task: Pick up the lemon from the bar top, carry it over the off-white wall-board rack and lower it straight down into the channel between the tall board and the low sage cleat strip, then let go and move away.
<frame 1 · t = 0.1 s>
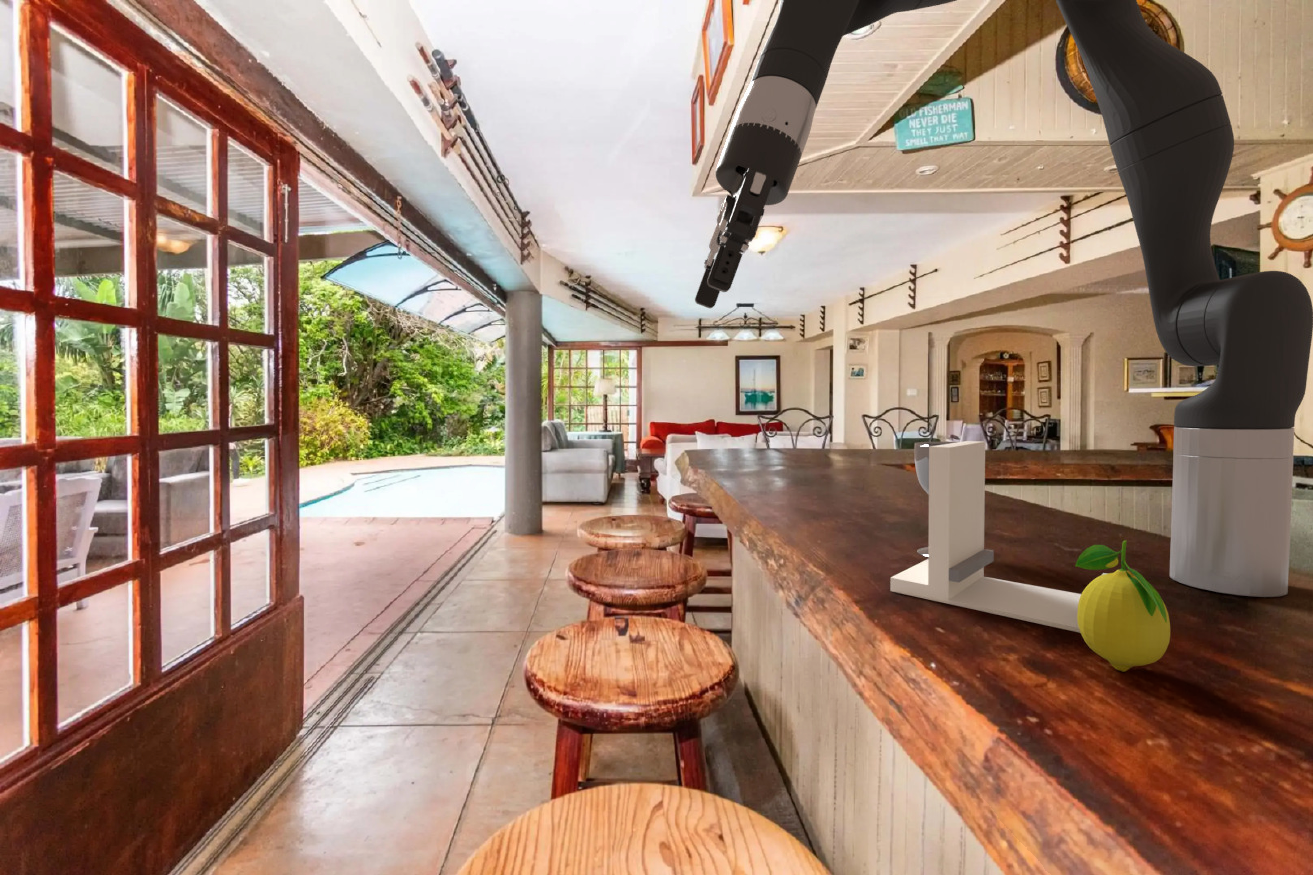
hand: (709, 297, 58), 31 cm above the countertop, tool tilted 20°, fingers open, 8 cm apart
lemon: (1117, 671, 44), on the countertop
cleat rack: (1025, 602, 59), on the countertop
wine glass: (945, 554, 79), on the countertop
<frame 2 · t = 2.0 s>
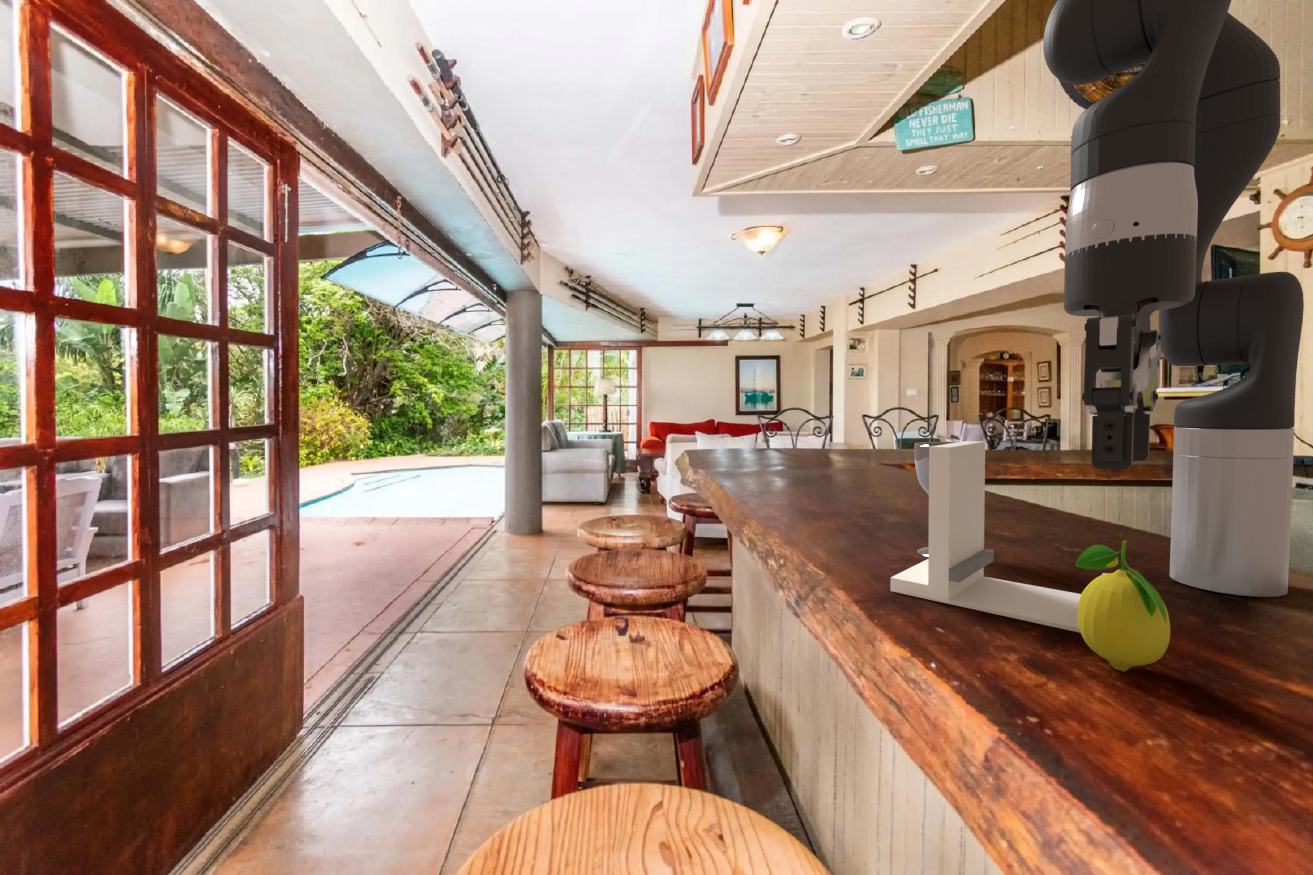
hand: (1121, 464, 43), 16 cm above the countertop, tool pointing down, fingers open, 8 cm apart
nothing on the countertop moved.
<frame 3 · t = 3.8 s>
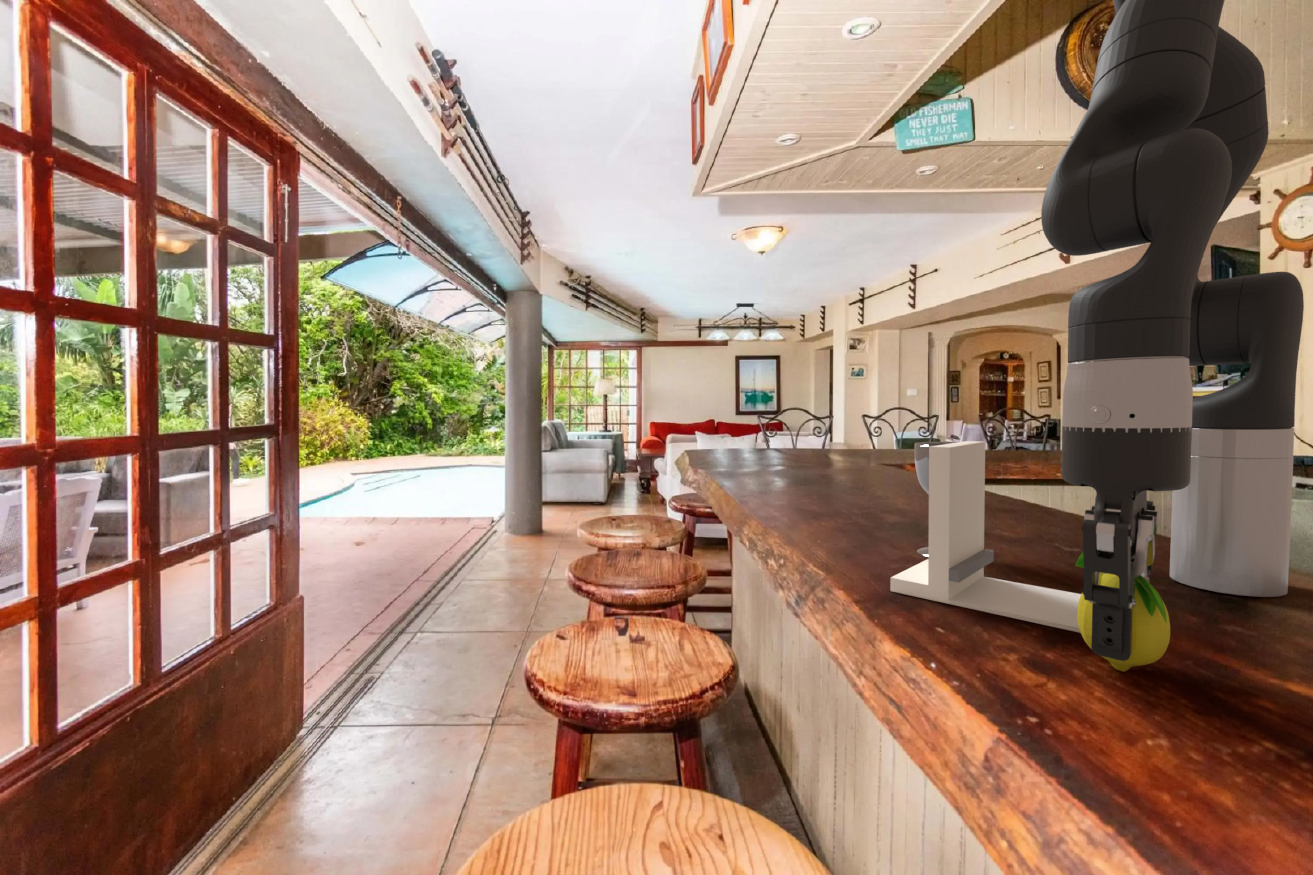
hand: (1118, 642, 44), 2 cm above the countertop, tool pointing down, fingers closed on lemon, 5 cm apart
lemon: (1117, 671, 44), on the countertop, touching gripper
everything else where it was.
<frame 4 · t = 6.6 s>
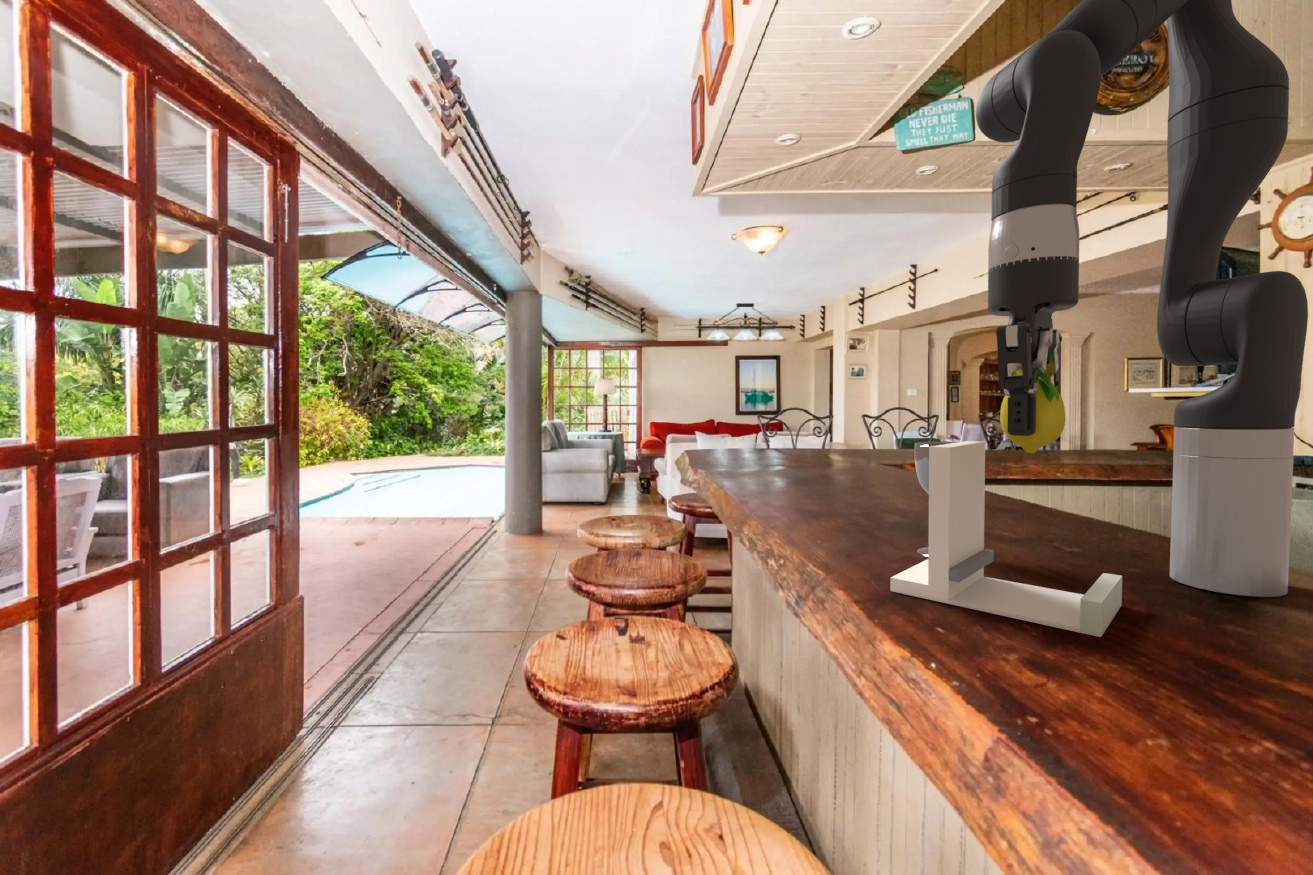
hand: (1029, 433, 58), 17 cm above the countertop, tool pointing down, fingers closed on lemon, 5 cm apart
lemon: (1029, 455, 58), point 15 cm above the countertop, touching gripper
everything else where it was.
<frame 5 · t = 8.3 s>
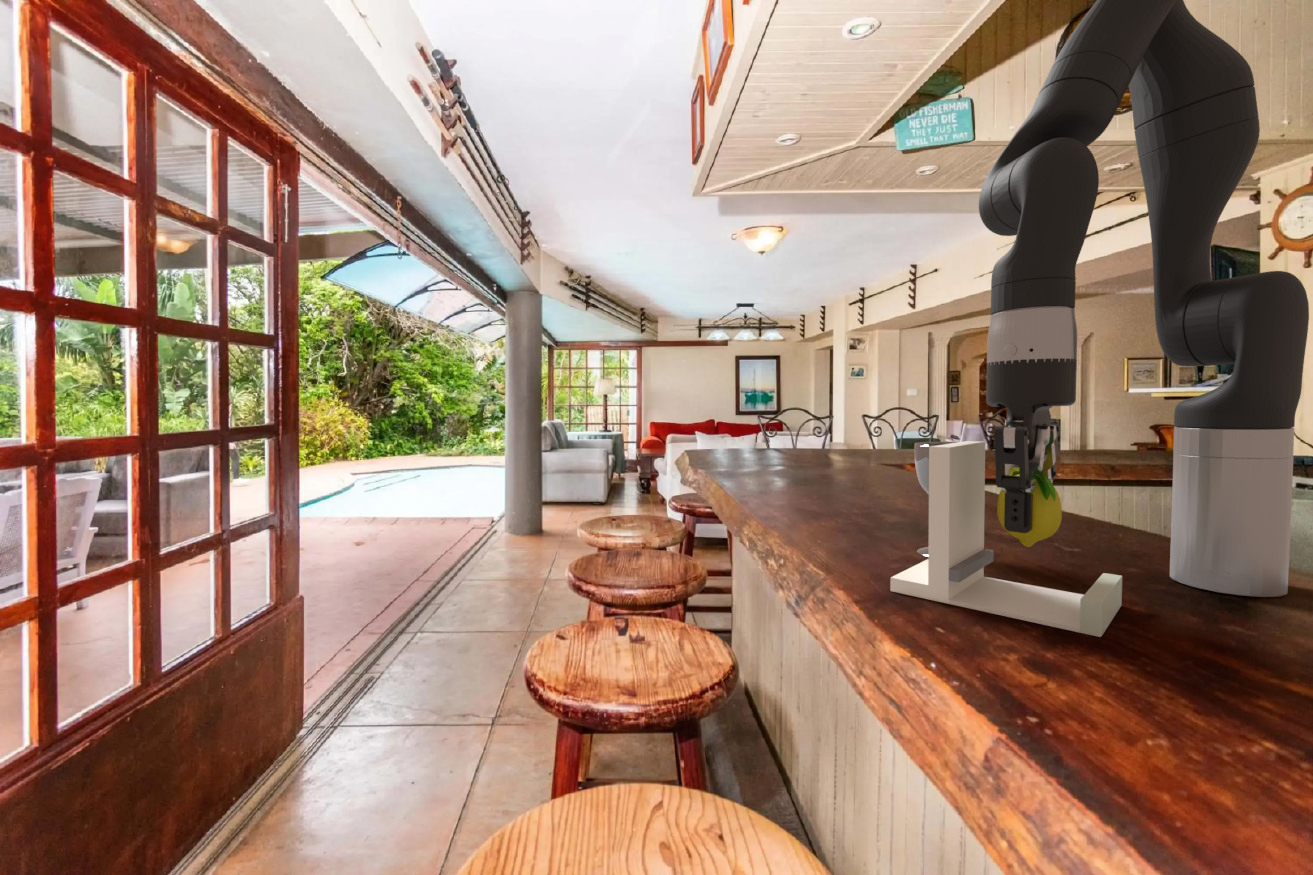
hand: (1026, 526, 58), 8 cm above the countertop, tool pointing down, fingers closed on lemon, 5 cm apart
lemon: (1025, 548, 59), point 6 cm above the countertop, touching gripper
everything else where it was.
when the fingers open (3 cm above the countertop, at t = 9.7 s): lemon moves 1 cm, resting on cleat rack.
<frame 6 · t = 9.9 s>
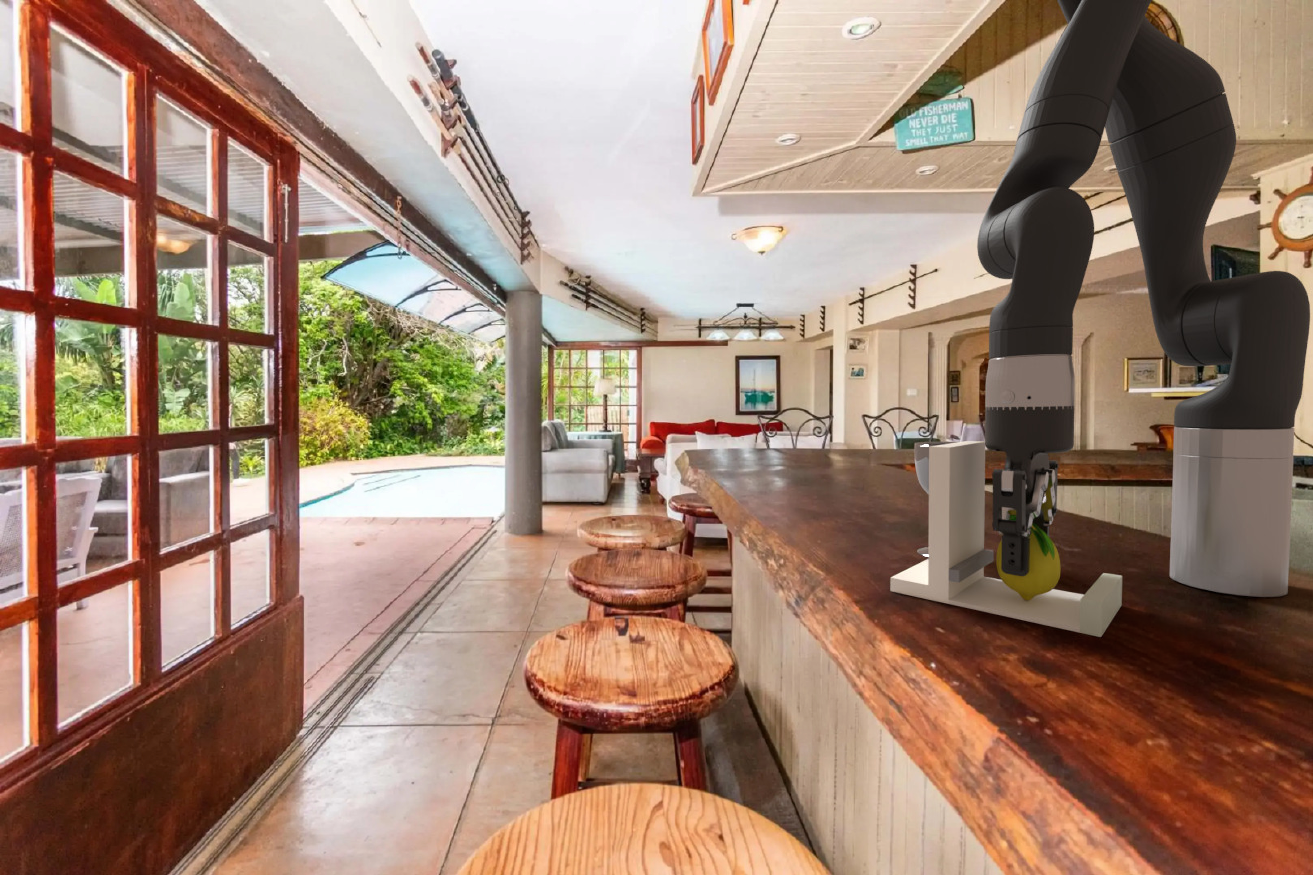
hand: (1025, 566, 59), 4 cm above the countertop, tool pointing down, fingers open, 7 cm apart
lemon: (1024, 601, 59), resting on cleat rack
everything else where it was.
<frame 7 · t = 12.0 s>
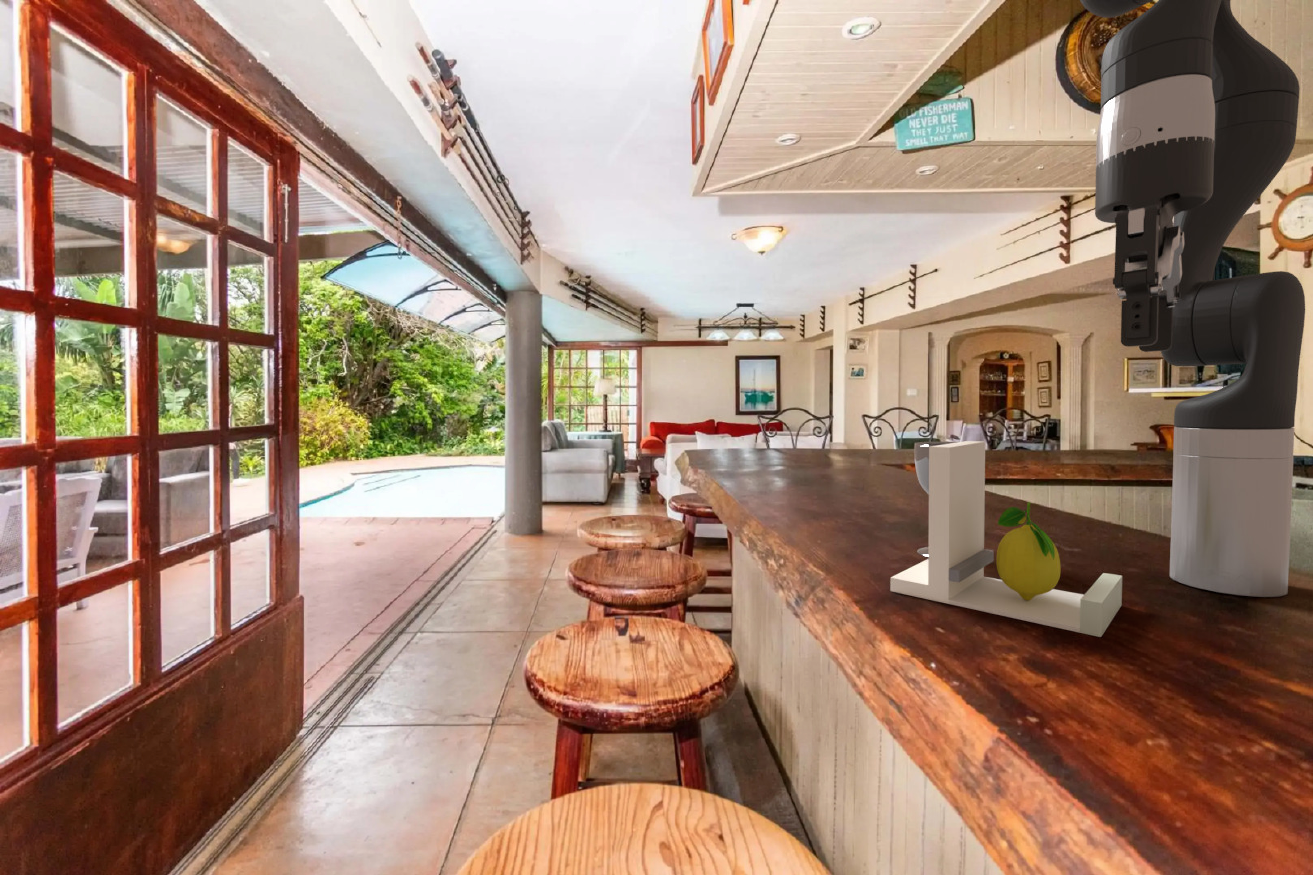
hand: (1147, 348, 49), 25 cm above the countertop, tool pointing down, fingers open, 8 cm apart
nothing on the countertop moved.
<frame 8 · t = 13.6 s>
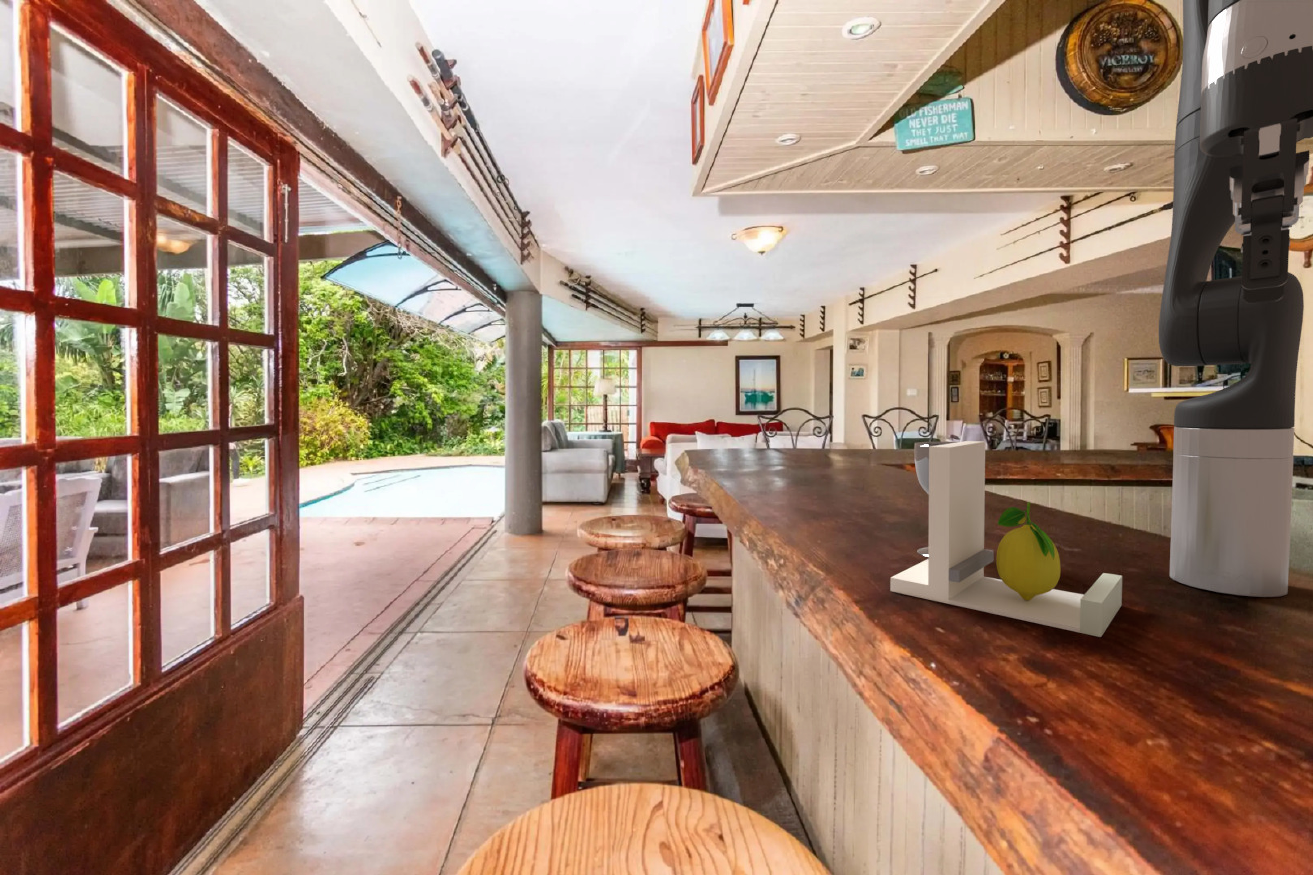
hand: (1263, 295, 43), 28 cm above the countertop, tool pointing down, fingers open, 8 cm apart
nothing on the countertop moved.
at the end: lemon inside the target area on the cleat rack (0.1 cm from its centre), point 0.2 cm above the cleat rack's base; the gripper is holding nothing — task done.
